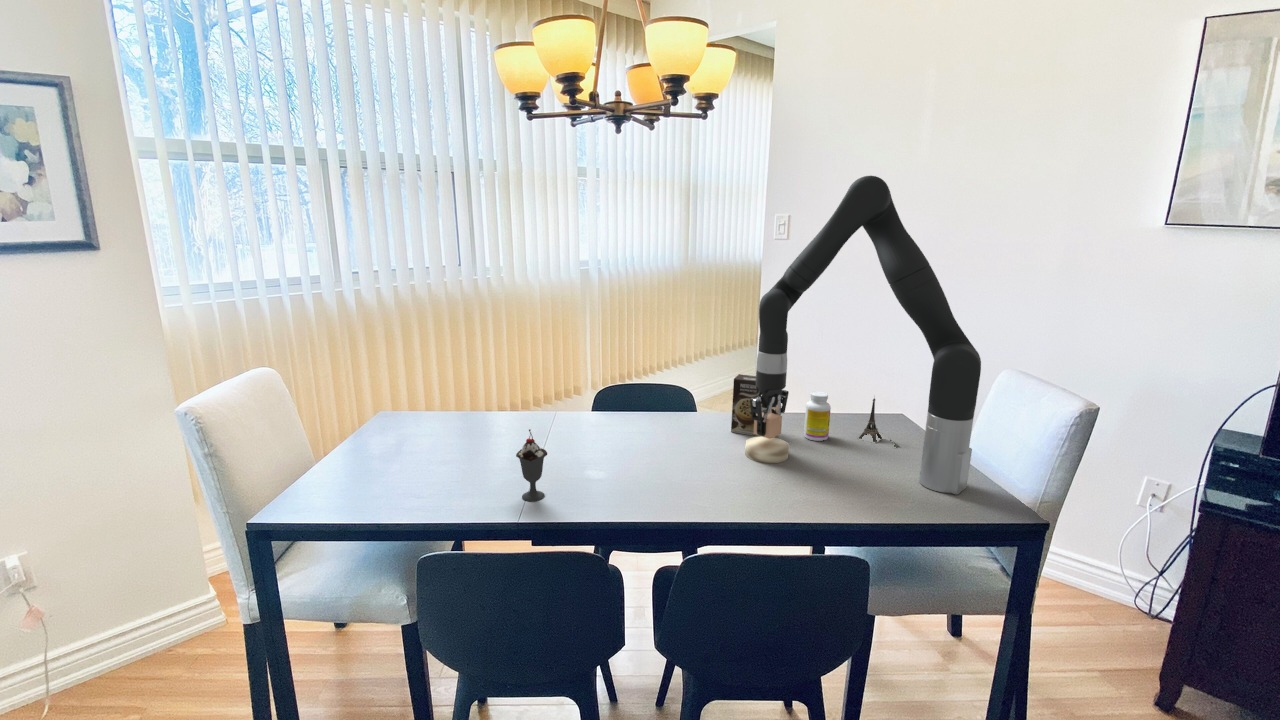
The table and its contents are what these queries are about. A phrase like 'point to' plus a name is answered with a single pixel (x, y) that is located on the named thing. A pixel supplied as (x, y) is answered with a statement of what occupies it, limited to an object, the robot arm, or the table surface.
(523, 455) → the sundae
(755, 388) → the coffee box
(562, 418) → the table surface
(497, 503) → the table surface
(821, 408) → the supplement bottle
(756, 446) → the plinth
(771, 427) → the cube
